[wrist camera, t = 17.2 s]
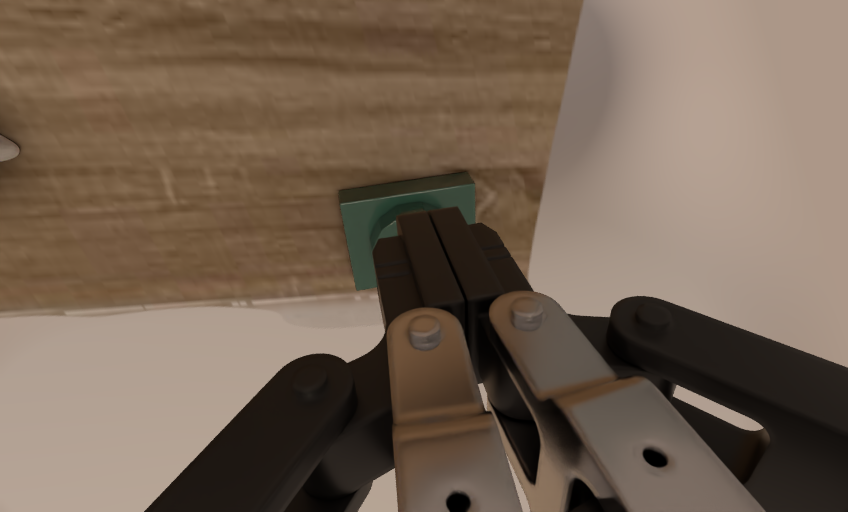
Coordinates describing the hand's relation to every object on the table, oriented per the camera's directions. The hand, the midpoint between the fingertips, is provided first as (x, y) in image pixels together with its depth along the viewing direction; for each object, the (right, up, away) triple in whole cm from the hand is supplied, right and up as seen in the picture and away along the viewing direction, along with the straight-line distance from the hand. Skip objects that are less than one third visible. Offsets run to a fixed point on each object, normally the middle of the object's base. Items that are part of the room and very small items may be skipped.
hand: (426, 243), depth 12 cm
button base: (-1, +2, +27) cm, 27 cm away
